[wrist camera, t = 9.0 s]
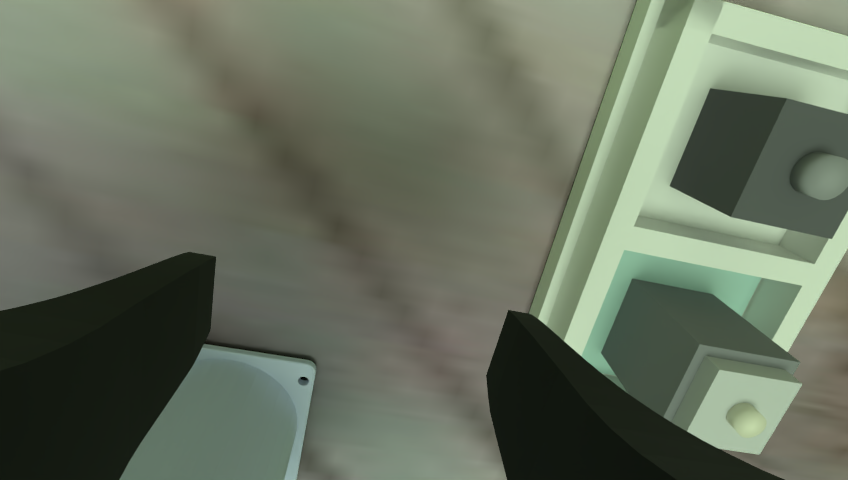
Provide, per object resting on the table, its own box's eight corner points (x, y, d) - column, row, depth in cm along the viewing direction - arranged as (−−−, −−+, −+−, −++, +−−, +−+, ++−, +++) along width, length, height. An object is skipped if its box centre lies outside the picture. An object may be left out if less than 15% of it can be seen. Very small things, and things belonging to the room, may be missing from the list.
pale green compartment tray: (706, 395, 26) (746, 439, 23) (511, 363, 25) (527, 406, 22) (880, 66, 20) (964, 69, 17) (637, -2, 19) (683, -11, 16)
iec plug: (677, 365, 24) (775, 477, 18) (600, 352, 23) (674, 463, 17) (712, 294, 22) (833, 387, 16) (632, 278, 22) (725, 369, 16)
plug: (754, 204, 21) (851, 247, 16) (669, 186, 20) (746, 224, 16) (800, 111, 20) (920, 130, 15) (710, 88, 19) (807, 101, 15)
